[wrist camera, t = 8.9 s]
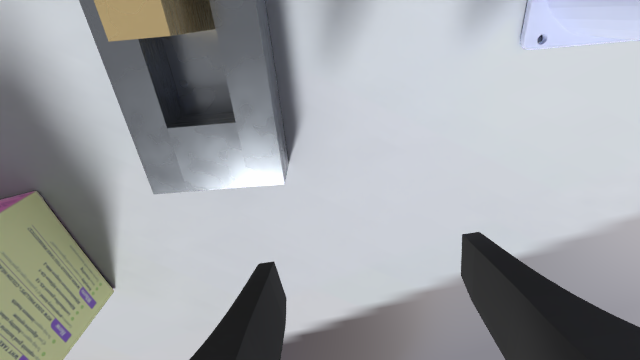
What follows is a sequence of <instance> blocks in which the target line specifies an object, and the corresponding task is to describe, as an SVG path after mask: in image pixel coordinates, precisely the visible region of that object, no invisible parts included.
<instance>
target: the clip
mask: <svg viewBox="0 0 640 360" xmlns="http://www.w3.org/2000/svg"><path fill="white" fill-rule="evenodd" d="M94 3H95V5H96V8H97V11H98V14H99V16H100V19H101V22H102V25H103V27H104V30H105V33H106V36H107V38H108V41H109V42H110V41H121V40H132V39H143V38H154V37H164V36H173V35H180V34H187V33H193V32H200V31H206V30H213V29H215V24H214V20H213V15H212V10H211V6H210V1H209V0H94Z"/></svg>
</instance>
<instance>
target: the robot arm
mask: <svg viewBox="0 0 640 360" xmlns="http://www.w3.org/2000/svg"><path fill="white" fill-rule="evenodd" d="M540 35H542V36H543V39H542V41H541V42H540V43H537V39H538V37H539V36H540ZM634 40H637V41H640V0H528V3H527V8H526V13H525V19H524V24H523V29H522V34H521V39H520V45H521V47H522V48H523V49H527V50H535V49H546V48H557V47H568V46H579V45H590V44H601V43H612V42H623V41H634ZM461 276H462V279H463V281H464V283H465V286H466V288H467V291H468V293H469V295H470V297H471V300H472V302H473V304H474V305H475V307H476V309H477V311H478V313H479V314H480V316H481V318H482V319H483V321H484V323H485V325H486V327H487V328H488V330H489V332H490V334H491V335H492V337H493V339H494V340H495V342H496V344H497V346H498V347H499V349H500V351H501V353H502V354H503V356H504V358H505V360H640V327H637V326H635V325H633V324H631V323H629V322H627V321H624V320H622V319H620V318H618V317H616V316H614V315H612V314H610V313H608V312H606V311H604V310H602V309H600V308H598V307H596V306H594V305H592V304H590V303H589V302H587V301H585V300H583V299H581V298H579V297H577V296H576V295H574V294H572V293H570V292H568V291H567V290H565V289H563V288H562V287H560V286H558V285H557V284H555V283H553V282H552V281H550V280H548V279H547V278H545V277H544V276H542V275H540V274H539V273H537V272H536V271H534V270H533V269H531V268H530V267H528V266H527V265H525V264H524V263H522V262H521V261H519V260H518V259H516V258H515V257H514V256H512V255H511V254H509V253H508V252H506V251H505V250H504V249H502V248H501V247H499V246H498V245H497V244H495V243H494V242H492V241H491V240H490V239H488V238H487V237H486V236H484V235H483V234H481V233H480V232H476V233H469V234H462V261H461ZM285 324H286V296H285V293H284V290H283V287H282V284H281V281H280V278H279V275H278V272H277V269H276V266H275V263H274V262H268V263H261V264H259V265H258V266H257V267H256V269H255V271H254V272H253V274H252V275H251V277H250V279H249V280H248V282H247V283H246V285H245V287H244V288H243V290H242V291H241V293H240V294H239V296H238V297H237V299H236V300H235V302H234V303H233V305H232V306H231V308H230V309H229V311H228V312H227V313H226V315H225V316H224V317H223V319H222V320H221V322H220V323H219V324H218V326H217V327H216V328H215V330H214V331H213V332H212V334H211V335H210V336H209V337H208V339H207V340H206V341H205V342H204V343H203V345H202V346H201V347H200V348H199V349H198V351H197V352H196V353H195V354H194V355H193V356H192V357H191V359H190V360H280V358H281V351H282V345H283V338H284V331H285Z"/></svg>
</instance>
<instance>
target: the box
mask: <svg viewBox="0 0 640 360" xmlns="http://www.w3.org/2000/svg"><path fill="white" fill-rule="evenodd" d="M113 292H114V290H113V289H112V288H111V286H110V285H109V284H108V283H107V281H106V280H105V279H104V278H103V277H102V275H101V274H100V273H99V271H98V270H97V269H96V268H95V266H94V265H93V264H92V263H91V261H90V260H89V259H88V257H87V256H86V255H85V254H84V252H83V251H82V250H81V249H80V247H79V246H78V245H77V243H76V242H75V241H74V239H73V238H72V237H71V236H70V234H69V233H68V232H67V230H66V229H65V228H64V226H63V225H62V224H61V222H60V221H59V220H58V219H57V217H56V216H55V215H54V213H53V212H52V211H51V209H50V208H49V207H48V205H47V204H46V203H45V201H44V200H43V197H42V196H41V195H40V194H39V193H38V192H37V191H32V192H29V193H25V194H21V195H17V196H13V197H9V198H5V199H1V200H0V360H63V359H64V358H65V356H66V355H67V354H68V352H69V351H70V350H71V348H72V347H73V346H74V344H75V343H76V342H77V340H78V339H79V338H80V336H81V335H82V334H83V332H84V331H85V330H86V328H87V327H88V326H89V324H90V323H91V322H92V320H93V319H94V318H95V316H96V315H97V314H98V312H99V311H100V310H101V308H102V307H103V306H104V304H105V303H106V302H107V300H108V299H109V298H110V296H111V295H112V294H113Z"/></svg>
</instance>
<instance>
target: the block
mask: <svg viewBox="0 0 640 360" xmlns="http://www.w3.org/2000/svg"><path fill="white" fill-rule="evenodd" d="M79 1H80V4H81V6H82V9H83V12H84V14H85V17H86V19H87V22H88V25H89V27H90V30H91V32H92V35H93V38H94V40H95V43H96V45H97V48H98V51H99V53H100V56H101V58H102V61H103V64H104V66H105V69H106V71H107V74H108V77H109V79H110V82H111V84H112V87H113V90H114V92H115V95H116V97H117V100H118V103H119V105H120V108H121V110H122V113H123V116H124V118H125V121H126V123H127V126H128V129H129V131H130V134H131V136H132V139H133V141H134V144H135V147H136V149H137V152H138V154H139V157H140V160H141V162H142V165H143V167H144V170H145V173H146V175H147V178H148V180H149V183H150V186H151V188H152V191H153V193H154V194H163V193H176V192H189V191H202V190H215V189H228V188H241V187H254V186H267V185H280V184H285V179H286V174H287V169H288V164H289V161H288V155H287V148H286V141H285V134H284V127H283V120H282V113H281V106H280V99H279V93H278V86H277V79H276V72H275V65H274V58H273V51H272V44H271V38H270V31H269V24H268V17H267V10H266V3H265V0H209V1H210V6H211V10H212V15H213V20H214V24H215V29H213V30H206V31H200V32H193V33H187V34H180V35H173V36H164V37H154V38H143V39H132V40H121V41H110V42H109V41H108V38H107V36H106V33H105V30H104V27H103V25H102V22H101V19H100V16H99V14H98V11H97V8H96V5H95V3H94V0H79Z"/></svg>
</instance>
